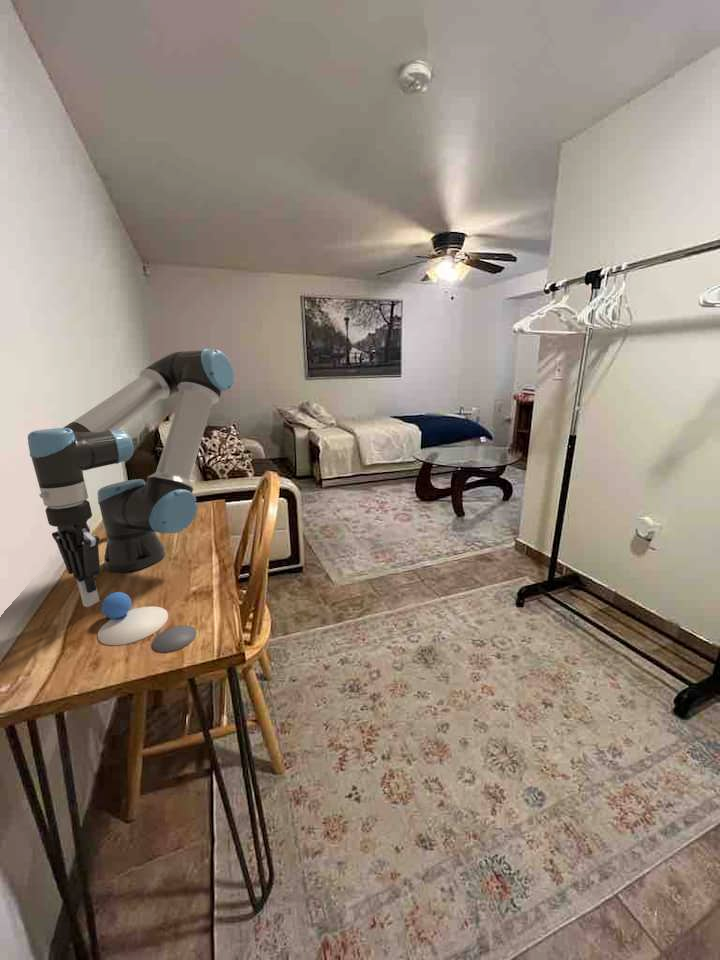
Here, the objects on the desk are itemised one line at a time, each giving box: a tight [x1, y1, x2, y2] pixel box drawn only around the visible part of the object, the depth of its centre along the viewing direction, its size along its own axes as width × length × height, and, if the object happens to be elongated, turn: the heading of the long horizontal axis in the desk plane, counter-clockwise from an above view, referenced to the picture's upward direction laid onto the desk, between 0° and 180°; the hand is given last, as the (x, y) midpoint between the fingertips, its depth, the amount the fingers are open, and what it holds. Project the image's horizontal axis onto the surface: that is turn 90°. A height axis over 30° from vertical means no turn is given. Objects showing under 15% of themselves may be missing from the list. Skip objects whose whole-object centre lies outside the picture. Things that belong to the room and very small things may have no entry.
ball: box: [101, 591, 132, 620], centre depth 85 cm, size 6×6×6 cm
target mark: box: [97, 606, 169, 646], centre depth 82 cm, size 13×13×1 cm
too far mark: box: [151, 624, 197, 653], centre depth 77 cm, size 8×8×1 cm
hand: (91, 603), depth 88 cm, fingers closed
